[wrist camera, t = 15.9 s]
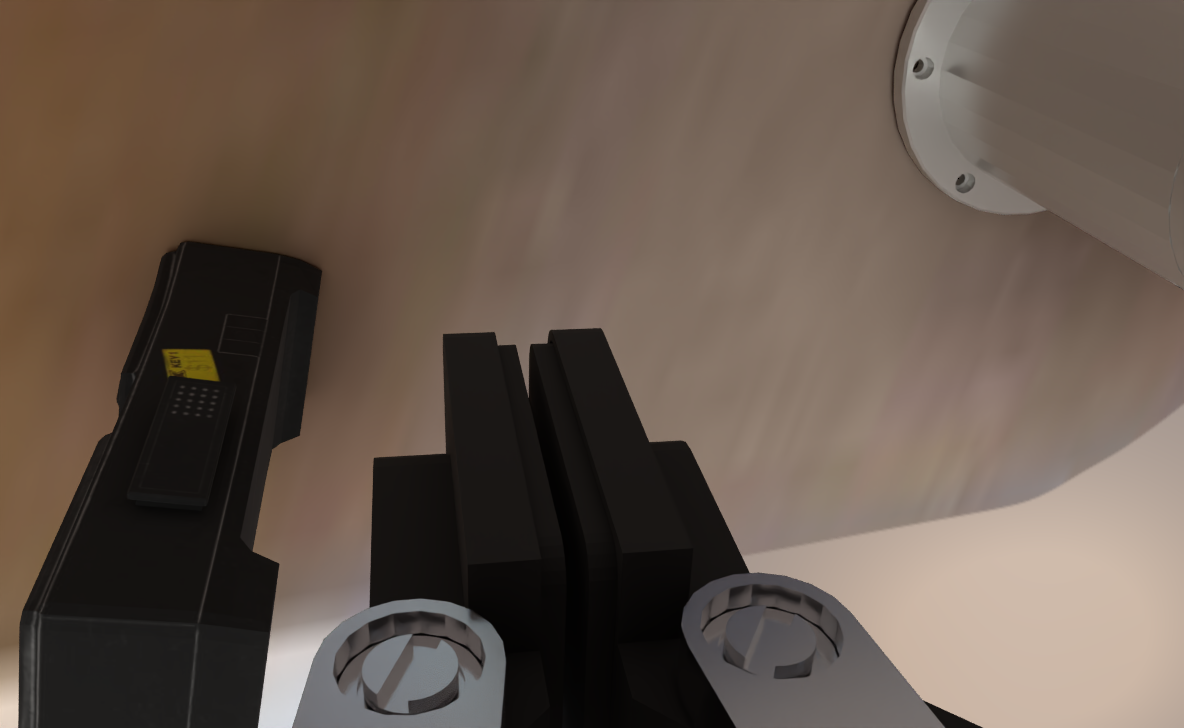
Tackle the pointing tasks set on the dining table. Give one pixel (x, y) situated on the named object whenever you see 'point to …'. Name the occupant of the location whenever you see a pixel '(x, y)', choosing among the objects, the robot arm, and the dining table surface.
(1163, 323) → the dining table surface
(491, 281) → the dining table surface
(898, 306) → the dining table surface
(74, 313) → the dining table surface
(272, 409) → the portable radio
